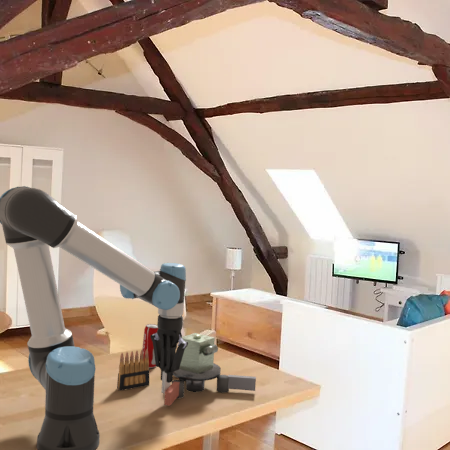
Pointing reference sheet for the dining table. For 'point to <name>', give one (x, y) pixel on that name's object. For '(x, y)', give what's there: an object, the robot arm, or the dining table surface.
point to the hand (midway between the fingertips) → (165, 391)
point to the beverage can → (149, 343)
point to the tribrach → (198, 362)
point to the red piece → (174, 392)
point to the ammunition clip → (133, 371)
